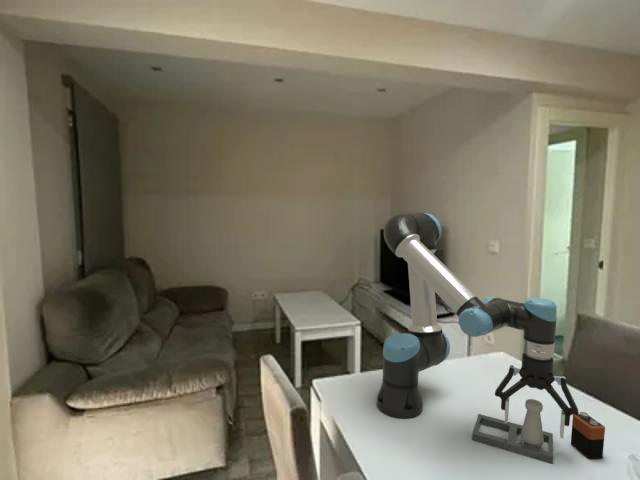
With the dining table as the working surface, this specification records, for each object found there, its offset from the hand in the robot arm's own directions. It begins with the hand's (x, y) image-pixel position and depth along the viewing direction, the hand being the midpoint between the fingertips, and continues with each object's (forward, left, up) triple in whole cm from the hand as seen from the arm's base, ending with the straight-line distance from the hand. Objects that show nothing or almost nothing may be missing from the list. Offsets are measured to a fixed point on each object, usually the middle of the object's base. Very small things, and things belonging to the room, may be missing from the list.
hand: (533, 428), depth 108 cm
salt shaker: (0, 0, -5) cm, 5 cm away
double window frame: (-5, 0, -5) cm, 7 cm away
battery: (+13, +5, -6) cm, 15 cm away
